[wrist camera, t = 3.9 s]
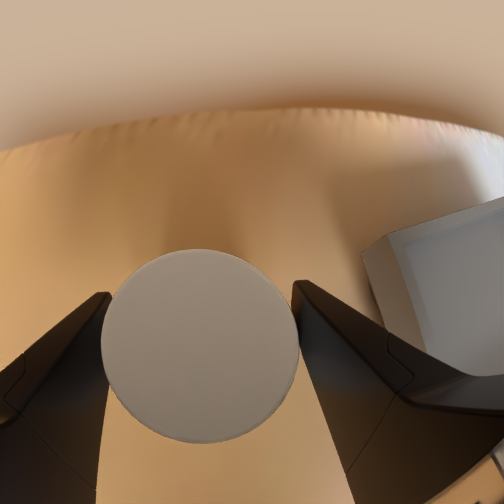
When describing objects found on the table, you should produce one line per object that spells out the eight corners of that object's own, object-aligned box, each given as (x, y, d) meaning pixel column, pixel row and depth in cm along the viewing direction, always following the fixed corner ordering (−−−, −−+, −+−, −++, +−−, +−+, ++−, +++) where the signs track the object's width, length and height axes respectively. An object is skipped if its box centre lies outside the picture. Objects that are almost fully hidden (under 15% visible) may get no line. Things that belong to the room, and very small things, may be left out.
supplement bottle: (245, 413, 14) (284, 502, 5) (142, 376, 14) (42, 410, 5) (279, 313, 16) (362, 265, 7) (178, 277, 16) (129, 183, 7)
